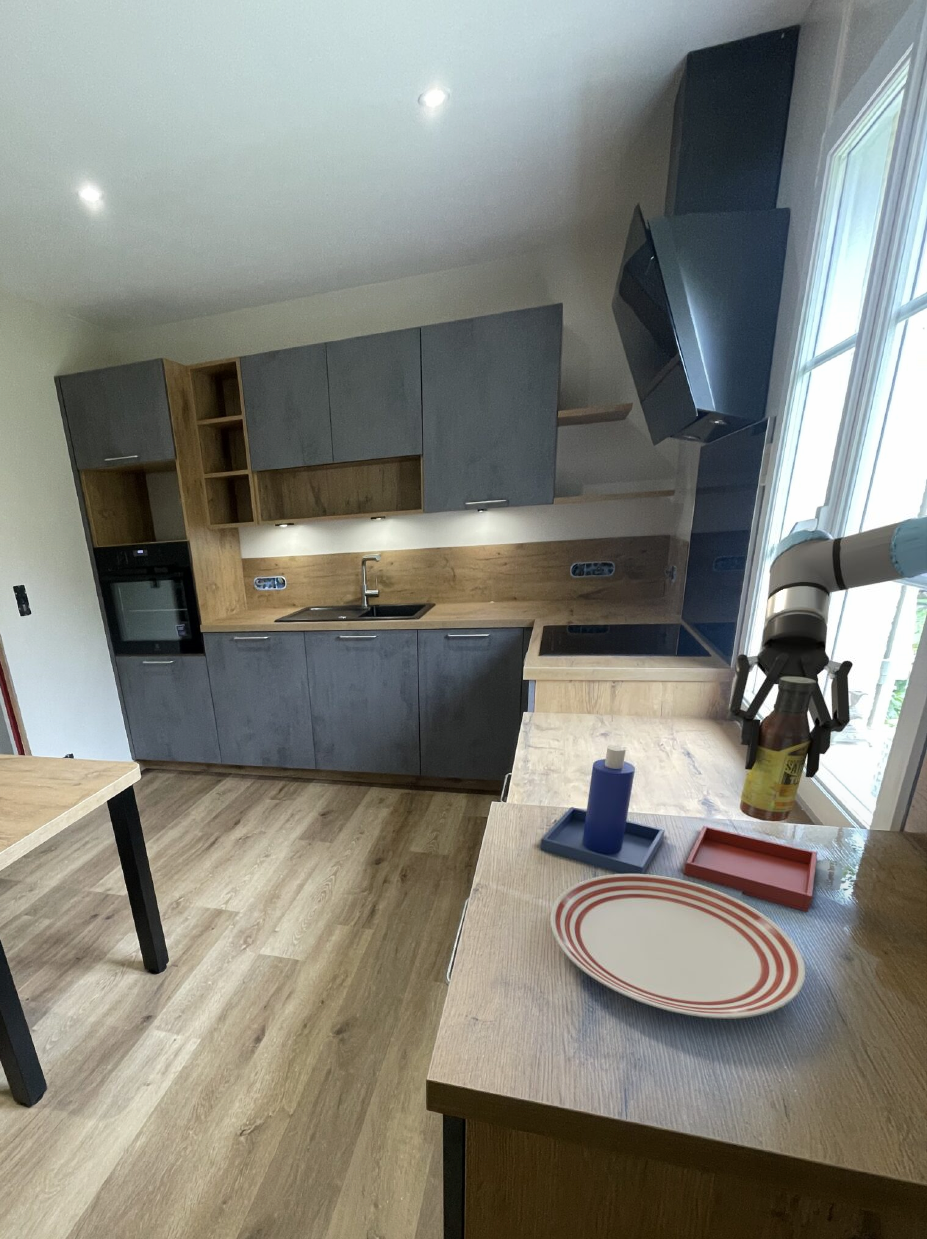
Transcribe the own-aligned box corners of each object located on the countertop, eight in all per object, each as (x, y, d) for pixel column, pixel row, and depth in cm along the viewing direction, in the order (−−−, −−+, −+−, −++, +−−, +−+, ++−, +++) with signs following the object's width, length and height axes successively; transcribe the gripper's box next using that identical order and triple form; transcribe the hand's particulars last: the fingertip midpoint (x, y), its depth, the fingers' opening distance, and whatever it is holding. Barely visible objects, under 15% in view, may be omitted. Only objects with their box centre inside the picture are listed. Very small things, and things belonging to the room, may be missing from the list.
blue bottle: (626, 842, 100) (642, 745, 94) (615, 858, 96) (632, 757, 89) (589, 832, 104) (602, 738, 97) (577, 847, 99) (590, 749, 93)
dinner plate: (557, 1016, 67) (560, 992, 66) (542, 881, 92) (544, 862, 90) (847, 1059, 61) (857, 1034, 59) (748, 901, 85) (753, 881, 84)
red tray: (812, 866, 93) (817, 852, 92) (807, 912, 83) (812, 896, 82) (700, 838, 102) (703, 825, 101) (682, 877, 91) (685, 862, 90)
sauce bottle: (780, 828, 84) (817, 688, 77) (730, 813, 89) (761, 680, 81) (796, 813, 88) (833, 679, 81) (748, 800, 93) (779, 671, 85)
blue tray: (662, 843, 101) (664, 829, 100) (639, 882, 91) (642, 867, 90) (569, 819, 110) (571, 806, 109) (539, 852, 99) (541, 838, 98)
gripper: (868, 645, 88) (859, 791, 81) (714, 638, 97) (695, 769, 90) (889, 613, 82) (882, 769, 75) (723, 608, 90) (703, 747, 83)
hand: (780, 769), depth 82 cm, fingers closed on sauce bottle, 6 cm apart
